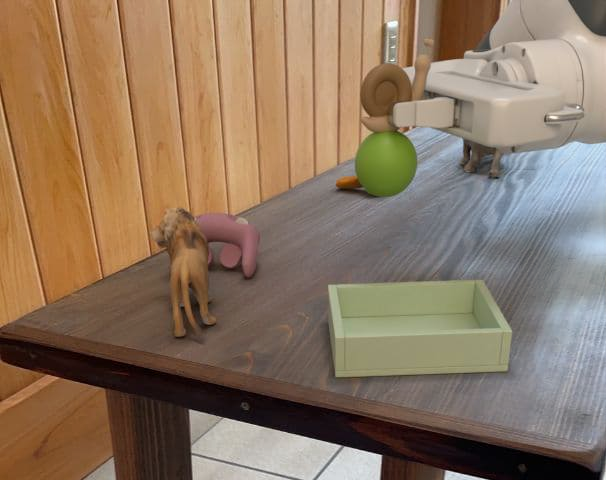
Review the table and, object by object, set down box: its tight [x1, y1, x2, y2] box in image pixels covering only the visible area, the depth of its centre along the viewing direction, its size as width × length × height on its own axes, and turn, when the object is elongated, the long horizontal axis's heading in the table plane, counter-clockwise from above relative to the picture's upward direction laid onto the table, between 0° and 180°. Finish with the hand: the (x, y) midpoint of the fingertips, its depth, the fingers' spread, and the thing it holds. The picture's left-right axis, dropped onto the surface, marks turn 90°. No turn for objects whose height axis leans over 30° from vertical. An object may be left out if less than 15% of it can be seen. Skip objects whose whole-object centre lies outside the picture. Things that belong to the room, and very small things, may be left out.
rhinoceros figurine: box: [459, 138, 505, 179], centre depth 128 cm, size 8×14×15 cm
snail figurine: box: [354, 38, 435, 198], centre depth 72 cm, size 5×6×12 cm
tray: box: [327, 279, 513, 378], centre depth 76 cm, size 15×13×4 cm
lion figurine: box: [149, 206, 217, 339], centre depth 82 cm, size 15×5×9 cm, turn 15°
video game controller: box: [168, 212, 261, 279], centre depth 94 cm, size 10×5×7 cm, turn 80°
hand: (383, 112), depth 72 cm, fingers closed on snail figurine
